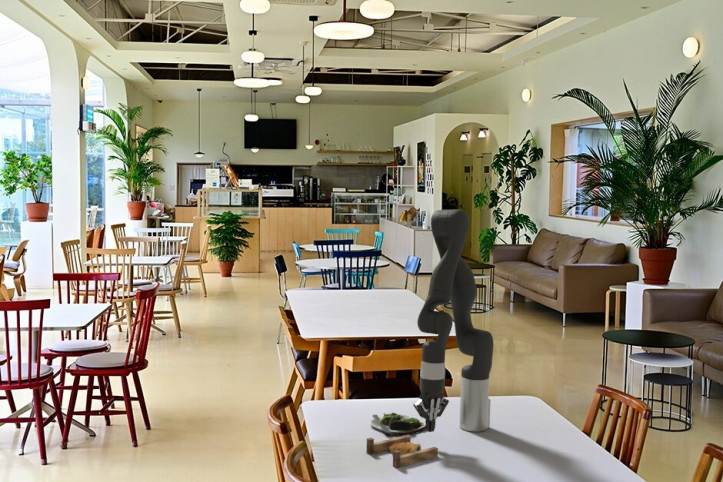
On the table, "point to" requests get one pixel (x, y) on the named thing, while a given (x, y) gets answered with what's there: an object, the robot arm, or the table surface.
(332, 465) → the table surface
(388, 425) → the salad plate
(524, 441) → the table surface
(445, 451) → the table surface
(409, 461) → the pair of wooden bars
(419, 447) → the pastry
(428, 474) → the table surface
